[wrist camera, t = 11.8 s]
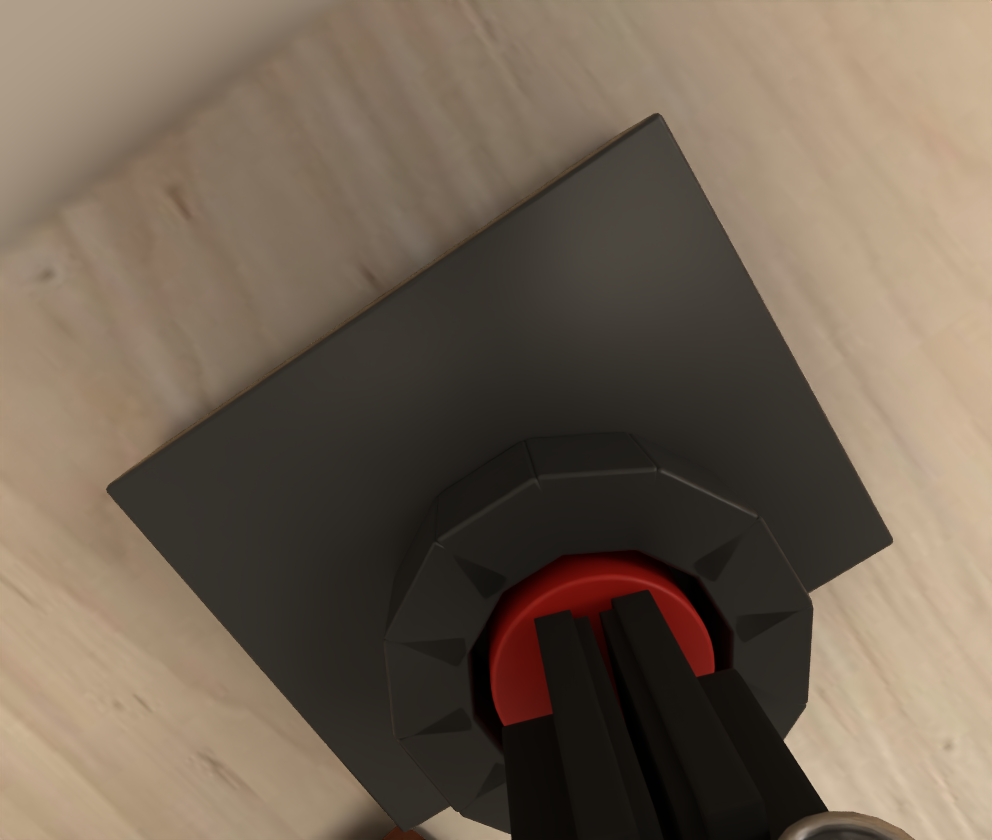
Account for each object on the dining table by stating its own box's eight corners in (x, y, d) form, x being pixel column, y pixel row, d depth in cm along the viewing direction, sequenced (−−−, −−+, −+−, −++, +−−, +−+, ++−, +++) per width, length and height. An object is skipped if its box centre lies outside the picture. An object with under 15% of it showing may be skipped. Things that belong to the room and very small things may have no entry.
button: (447, 593, 12) (445, 655, 10) (616, 487, 11) (644, 533, 10) (552, 732, 12) (568, 812, 11) (713, 637, 12) (756, 702, 10)
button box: (158, 447, 13) (35, 537, 9) (625, 130, 12) (703, 84, 8) (439, 785, 15) (434, 971, 12) (854, 537, 14) (1000, 649, 11)
